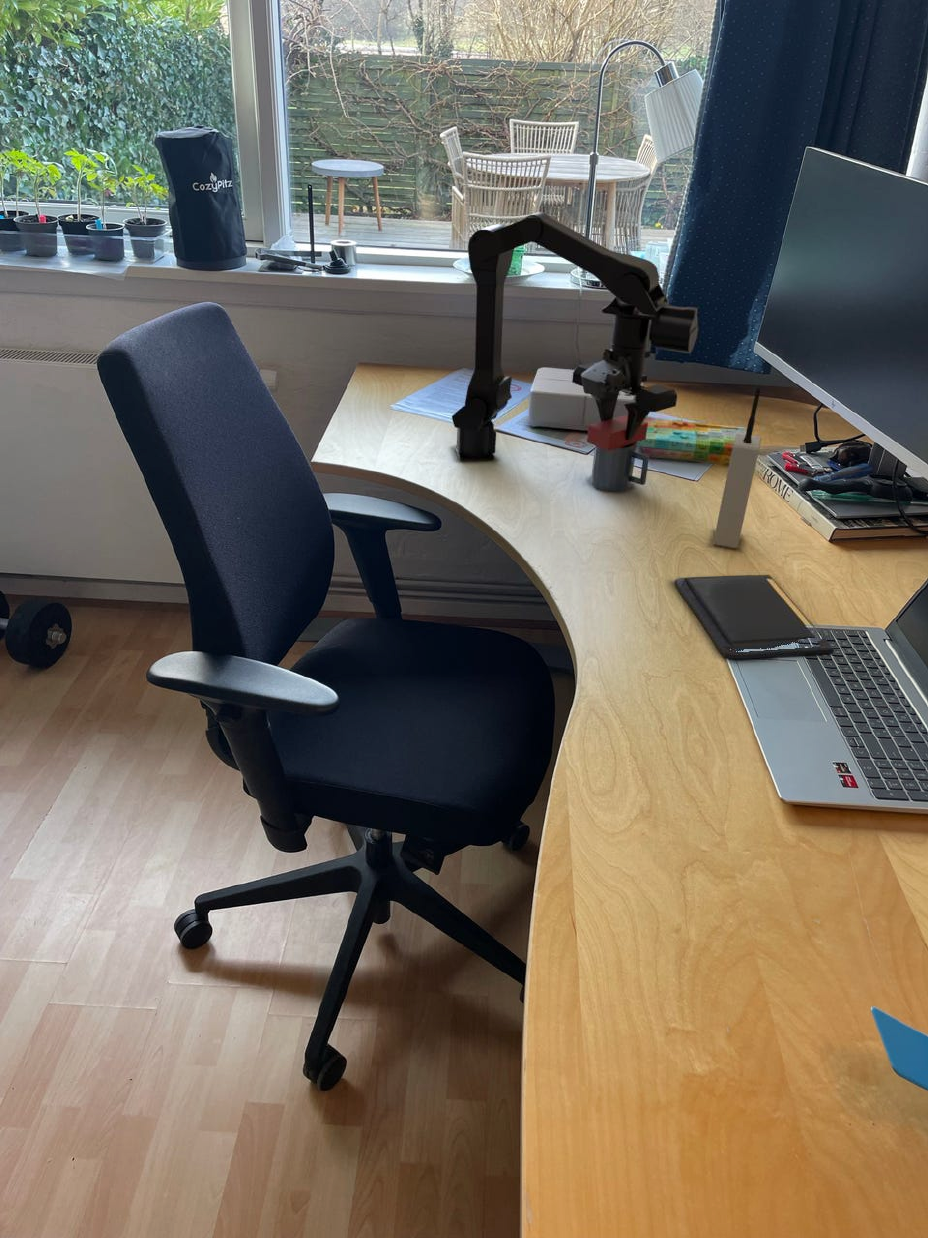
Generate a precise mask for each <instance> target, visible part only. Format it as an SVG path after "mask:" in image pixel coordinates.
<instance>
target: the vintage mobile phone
mask: <svg viewBox="0 0 928 1238" xmlns="http://www.w3.org/2000/svg"><path fill="white" fill-rule="evenodd" d="M761 390H762V388H761V387H760V386H757V387H756V389H755V393H754V398H753V403H752V407H751V411H750V416H749V419H748V423H747V427H746V430H747V431H746V435H745V434H738V433H737V434H736V436H735V440H734V444H733V448H732V453H731V458H730V461H729V462H728V469H727V473H726V477H725V482H724V488H723V492H722V497H721V503H720V507H719V511H718V512H719V513H718V517H717V521H716V526H715V533H714V537H713V542H712V545H714V546H716V547H717V546H718V547H722V548H729V549H734V550H737V549H738V548H739V543H740V538H741V534H742V529H743V525H744V520H745V515H746V511H747V507H748V503H749V502H748V501H749V498H750V493H751V488H752V485H753V479H754V475H755V470H756V466H757V460H758V458H759V457H758V456H759V452H760V447H761V442H762V436H757V435H753V431H754V427H755V423H756V422H755V421H756V412H757V409H758V403H759V398H760V394H761Z"/></svg>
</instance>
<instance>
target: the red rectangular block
mask: <svg viewBox="0 0 928 1238" xmlns="http://www.w3.org/2000/svg"><path fill="white" fill-rule="evenodd" d="M627 419H628V415H624V416H620V417H616V418H613V419H609V420H606V421H602V422H599V423H595V424H592V425H589V426H588V431H587V435H586V437H587V438H586V443H588V444H591V445H592V446H594V447H595V446H597V447H599V448H602V449H604V450H606V451H610V450H613V449H616V448H620V447H623V446H626V445H629V444H633V443H636V442H637V443H639V442H641V441H642V440H645V439H646V433H647V427H648V423H647V422H644V421H643V422H642V424H641V425H640V427H639V428H638V430H637V432H636V433H635V435H634V436H633V438H632V439H631V440H626V427H627Z"/></svg>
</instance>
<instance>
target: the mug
mask: <svg viewBox="0 0 928 1238" xmlns="http://www.w3.org/2000/svg"><path fill="white" fill-rule="evenodd" d="M637 447H638V442H636V443H633V444H629V445H626V446H623V447H620V448H616V449H613V450H610V451H606V450H604V449H602V448H599V447H597V446H595V445H594V452H593V453H594V454H593V459H592V460H593V461H592V468H591V476H590V477H591V478H590V483H591V485H592V486H593V487H594V488H596V489H598V490H600V491H605V492H610V493H611V492H613V493H614V492H615V493H619V492H625V491H628V490H629V489H630V488H631V487H632V483H634V484H637V485H639V486H644V485H645V484H646V483H647V482H646V481H647V477H648V470H649V469H648V468H649V463H650V457H649V456H648V455H645V454H644V453H640V452H637ZM636 459H637V460H640V461H642V463H641V464H642V465H641V470H640V476H639V477H638V476H634V475H633V474H634V467H635V461H636Z"/></svg>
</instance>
